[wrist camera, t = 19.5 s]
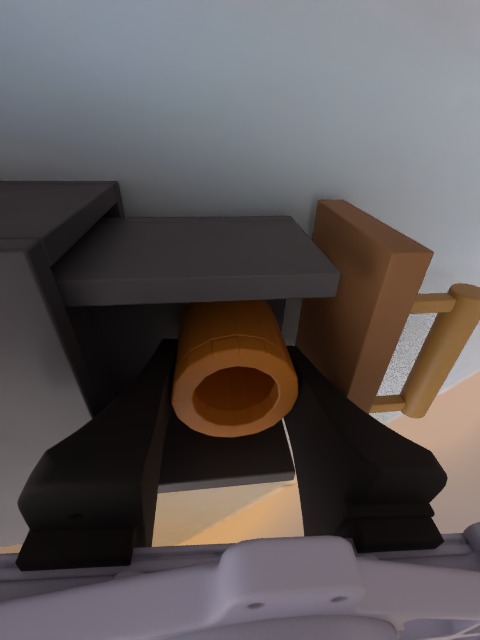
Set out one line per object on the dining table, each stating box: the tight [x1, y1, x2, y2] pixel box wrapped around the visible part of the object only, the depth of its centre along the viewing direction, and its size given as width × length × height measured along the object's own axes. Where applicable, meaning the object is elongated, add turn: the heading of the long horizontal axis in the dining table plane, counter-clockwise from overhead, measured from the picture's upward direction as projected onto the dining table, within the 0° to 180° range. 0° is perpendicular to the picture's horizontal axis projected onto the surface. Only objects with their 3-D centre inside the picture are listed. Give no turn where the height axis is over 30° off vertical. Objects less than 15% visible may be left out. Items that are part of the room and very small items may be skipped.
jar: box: [171, 300, 299, 437], centre depth 13 cm, size 5×5×5 cm
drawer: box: [50, 200, 480, 493], centre depth 13 cm, size 17×12×6 cm
